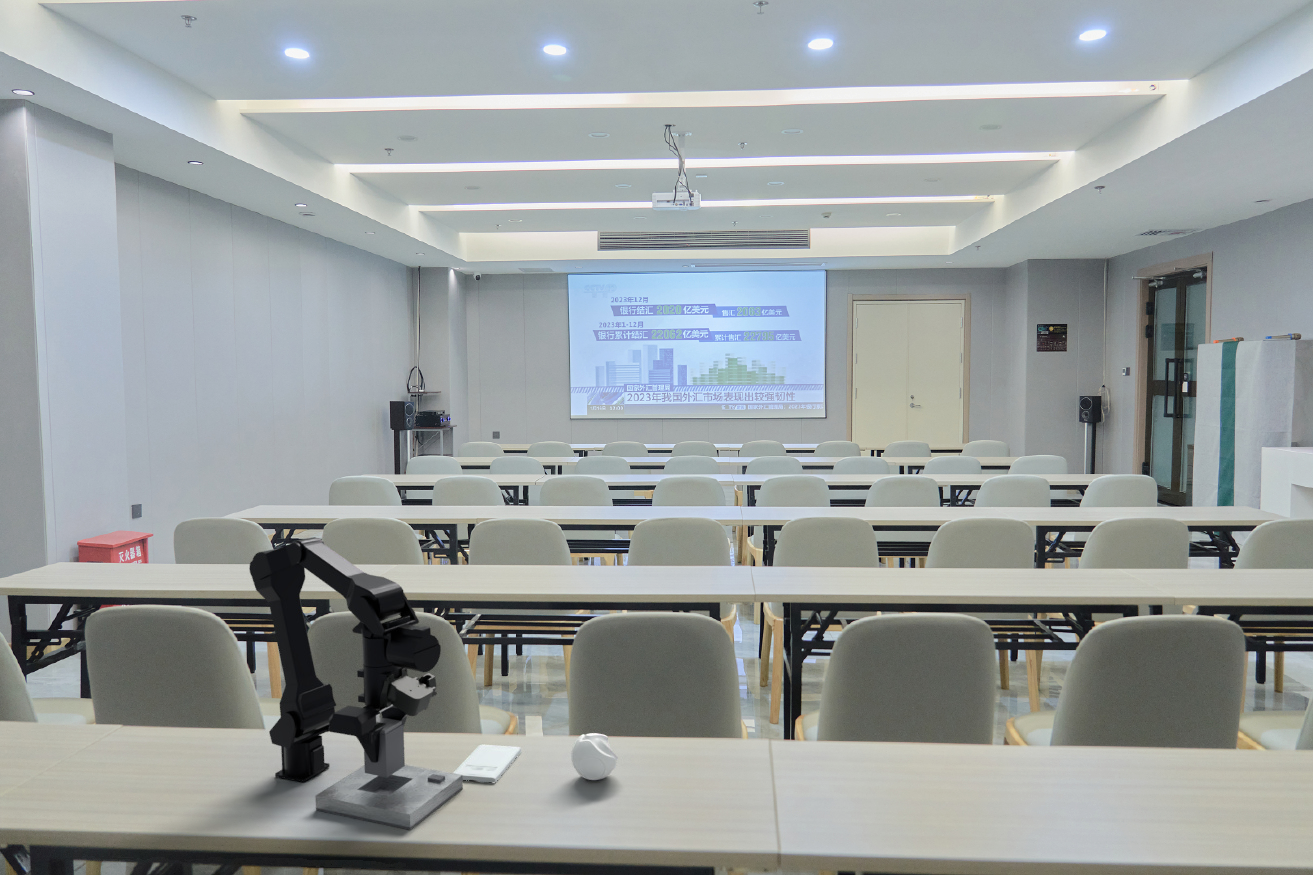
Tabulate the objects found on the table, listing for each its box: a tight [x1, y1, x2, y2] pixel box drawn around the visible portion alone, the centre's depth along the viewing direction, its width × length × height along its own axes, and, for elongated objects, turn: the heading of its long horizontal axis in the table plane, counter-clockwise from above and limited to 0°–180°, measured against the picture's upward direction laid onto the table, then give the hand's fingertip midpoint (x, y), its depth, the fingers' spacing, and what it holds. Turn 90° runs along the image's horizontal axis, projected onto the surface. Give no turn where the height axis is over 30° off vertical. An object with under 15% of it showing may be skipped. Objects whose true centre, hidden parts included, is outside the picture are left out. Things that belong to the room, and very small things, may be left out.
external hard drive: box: [452, 743, 522, 783], centre depth 151 cm, size 2×8×12 cm
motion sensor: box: [571, 732, 619, 781], centre depth 146 cm, size 8×8×8 cm
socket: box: [314, 764, 464, 831], centre depth 139 cm, size 18×14×3 cm
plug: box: [363, 717, 406, 777], centre depth 139 cm, size 4×4×8 cm
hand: (384, 755), depth 139 cm, fingers closed on plug, 4 cm apart
